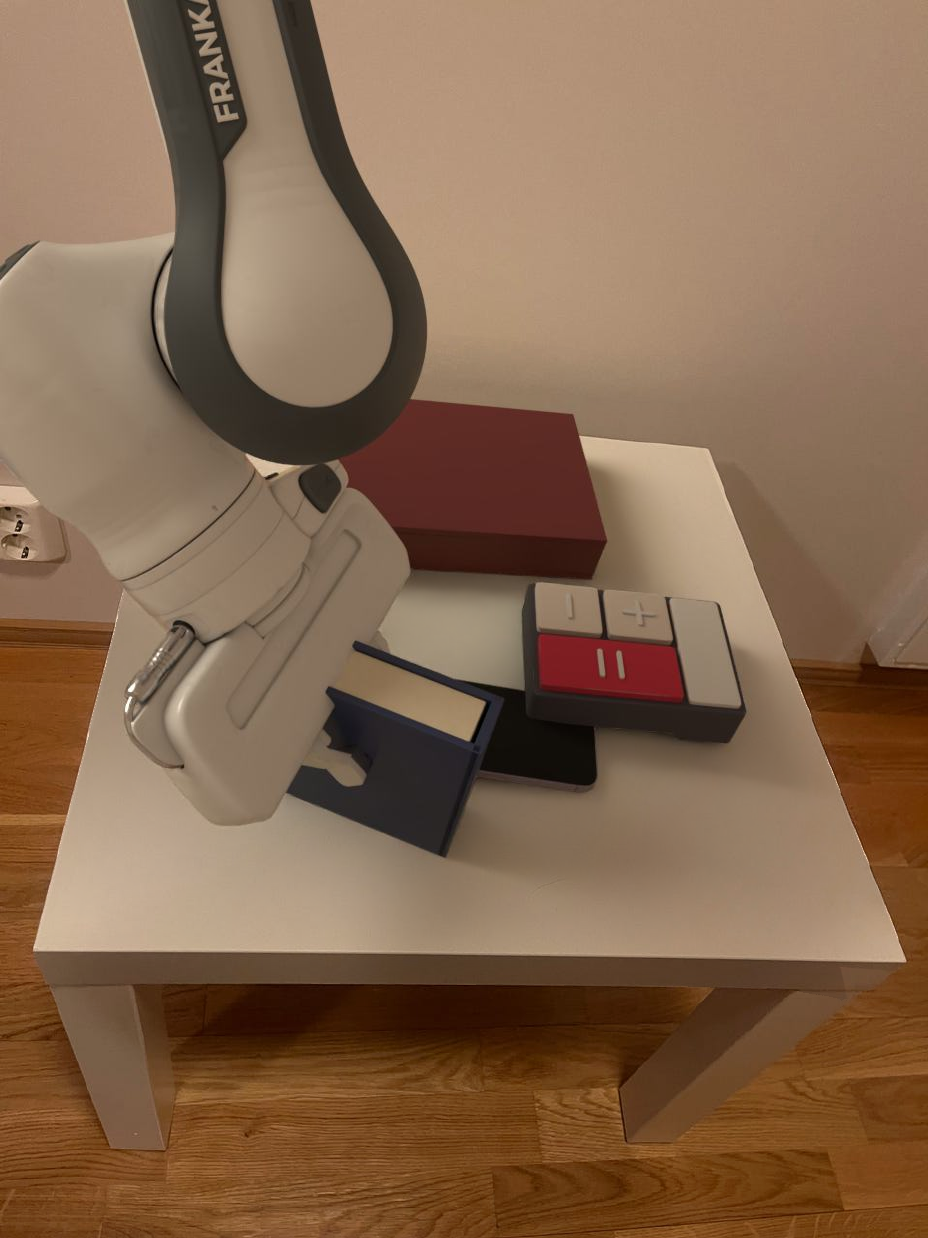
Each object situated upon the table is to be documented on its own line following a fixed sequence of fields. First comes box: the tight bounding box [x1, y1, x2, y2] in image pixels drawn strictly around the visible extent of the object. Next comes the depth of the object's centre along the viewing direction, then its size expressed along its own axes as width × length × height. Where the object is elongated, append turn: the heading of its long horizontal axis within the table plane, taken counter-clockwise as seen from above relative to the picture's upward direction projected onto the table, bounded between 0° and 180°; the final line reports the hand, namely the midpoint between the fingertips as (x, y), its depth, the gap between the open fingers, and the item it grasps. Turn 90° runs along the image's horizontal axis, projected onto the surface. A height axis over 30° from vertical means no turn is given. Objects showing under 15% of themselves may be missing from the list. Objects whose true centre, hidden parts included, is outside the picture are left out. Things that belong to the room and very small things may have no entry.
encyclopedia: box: [338, 398, 608, 580], centre depth 76 cm, size 22×16×4 cm
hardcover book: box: [285, 640, 504, 859], centre depth 53 cm, size 4×13×12 cm, turn 71°
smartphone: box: [455, 678, 599, 793], centre depth 62 cm, size 7×1×15 cm
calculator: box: [521, 581, 748, 745], centre depth 66 cm, size 11×4×15 cm
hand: (378, 739), depth 53 cm, fingers closed on hardcover book, 4 cm apart
